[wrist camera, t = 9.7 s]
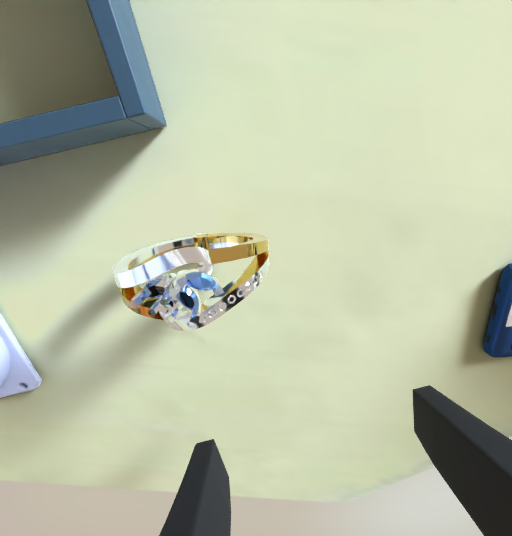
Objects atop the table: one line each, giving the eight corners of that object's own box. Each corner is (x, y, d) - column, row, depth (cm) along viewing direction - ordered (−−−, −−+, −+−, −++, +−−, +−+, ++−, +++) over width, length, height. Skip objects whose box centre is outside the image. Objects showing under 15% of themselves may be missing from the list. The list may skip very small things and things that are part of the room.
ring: (148, 270, 17) (86, 352, 10) (137, 217, 16) (57, 264, 9) (262, 260, 18) (286, 331, 10) (259, 208, 17) (283, 244, 9)
